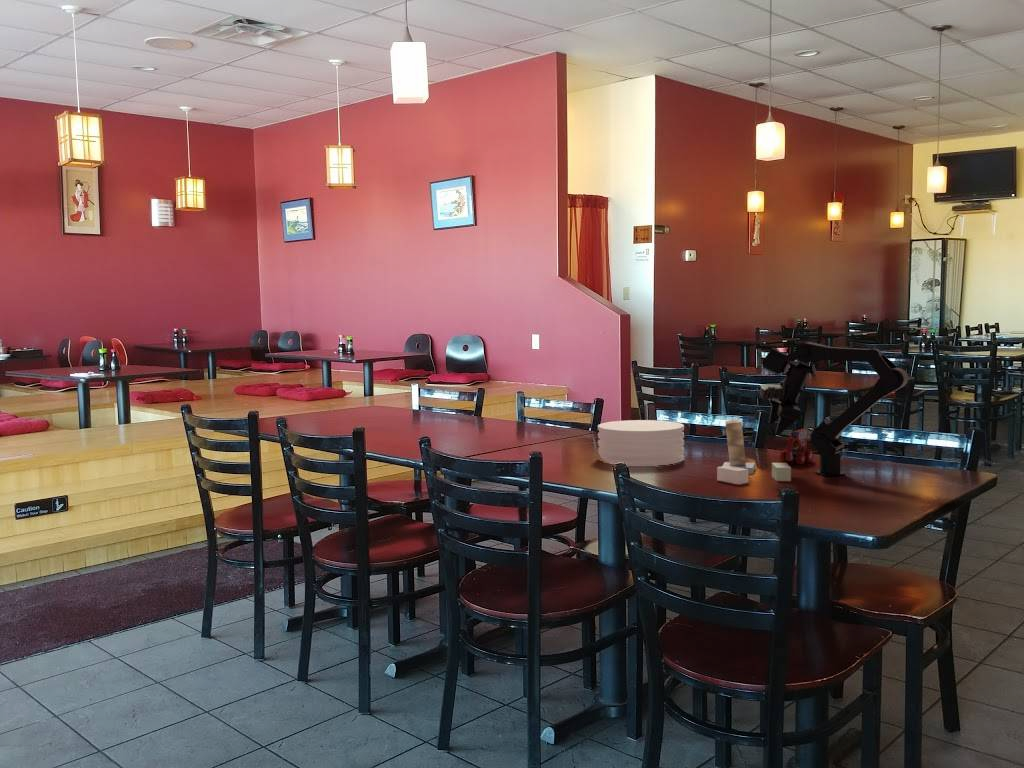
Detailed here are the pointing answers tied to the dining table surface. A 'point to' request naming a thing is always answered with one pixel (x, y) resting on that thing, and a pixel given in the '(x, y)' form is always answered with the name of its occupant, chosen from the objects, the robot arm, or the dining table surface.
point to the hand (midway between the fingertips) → (773, 429)
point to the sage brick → (781, 471)
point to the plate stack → (641, 442)
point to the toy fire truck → (797, 448)
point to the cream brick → (732, 474)
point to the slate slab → (744, 466)
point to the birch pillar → (735, 442)
